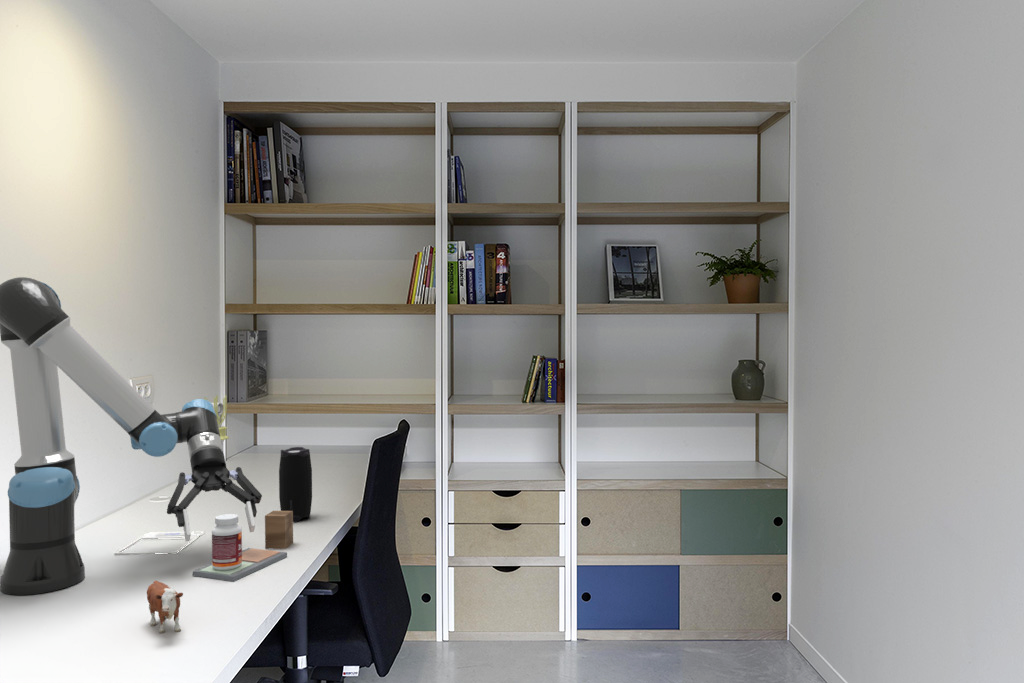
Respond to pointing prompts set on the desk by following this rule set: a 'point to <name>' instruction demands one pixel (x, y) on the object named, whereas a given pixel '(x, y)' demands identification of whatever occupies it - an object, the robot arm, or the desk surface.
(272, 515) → the walnut block
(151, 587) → the bull figurine
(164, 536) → the photo frame
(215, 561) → the pill bottle
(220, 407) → the trophy
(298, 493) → the portable speaker
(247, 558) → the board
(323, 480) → the desk surface
